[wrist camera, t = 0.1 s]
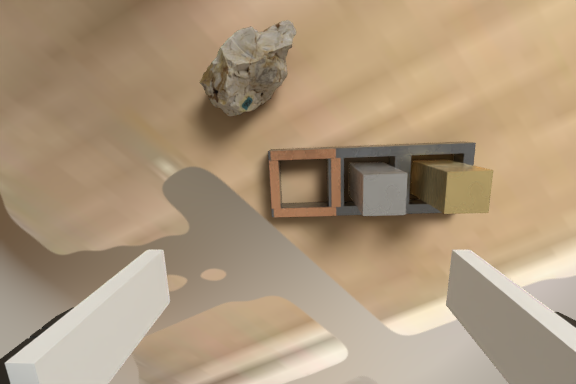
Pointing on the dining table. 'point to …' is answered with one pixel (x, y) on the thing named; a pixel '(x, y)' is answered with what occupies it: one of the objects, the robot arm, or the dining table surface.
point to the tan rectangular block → (451, 185)
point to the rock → (248, 68)
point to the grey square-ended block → (378, 188)
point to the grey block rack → (335, 174)
